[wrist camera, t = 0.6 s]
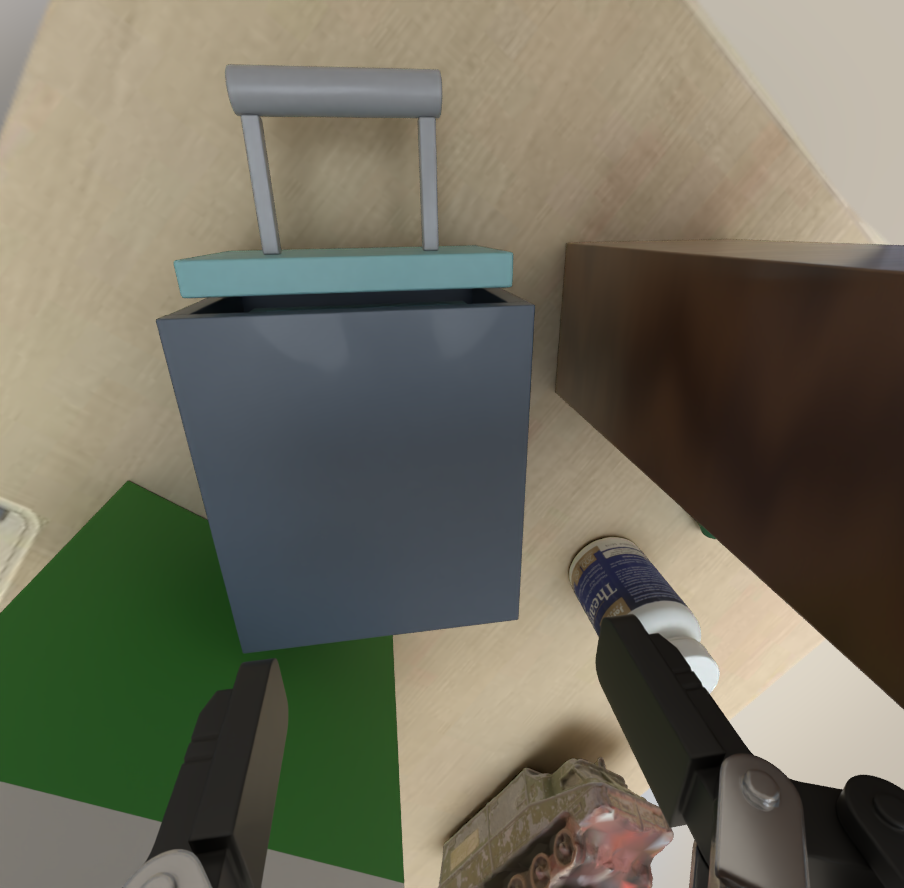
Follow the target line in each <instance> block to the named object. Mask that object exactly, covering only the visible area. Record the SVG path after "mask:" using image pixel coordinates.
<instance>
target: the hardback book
mask: <svg viewBox="0 0 904 888" xmlns="http://www.w3.org/2000/svg"><path fill="white" fill-rule="evenodd" d="M271 658H276V659H277V661H278V664H279V668H280V672H281V676H282V680H283V684H284V688H285V693H286V697H287V701H288V729H287V735H286V741H285V747H284V753H283V759H282V765H281V771H280V777H279V783H278V789H277V795H276V801H275V807H274V813H273V819H272V825H271V831H270V837H269V843H268V849H267V855H266V861H265V867H264V873H263V879H262V885H261V888H404V870H403V849H402V827H401V806H400V784H399V763H398V741H397V720H396V698H395V677H394V655H393V635H390V636H382V637H374V638H365V639H357V640H349V641H341V642H333V643H325V644H317V645H309V646H301V647H293V648H285V649H276V650H268V651H260V652H252V653H243V652H242V648H241V645H240V641H239V637H238V633H237V629H236V625H235V622H234V618H233V614H232V610H231V606H230V603H229V599H228V595H227V591H226V587H225V583H224V580H223V576H222V572H221V568H220V564H219V560H218V557H217V553H216V549H215V545H214V541H213V538H212V534H211V530H210V526H209V522H208V520H206V519H204V518H202V517H200V516H198V515H196V514H194V513H192V512H190V511H188V510H186V509H184V508H182V507H180V506H178V505H176V504H174V503H172V502H170V501H168V500H166V499H164V498H162V497H160V496H158V495H156V494H154V493H152V492H150V491H148V490H146V489H144V488H142V487H140V486H138V485H136V484H134V483H132V482H130V481H127V482H126V483H125V484H124V485H123V486H122V487H121V488H120V489H119V490H118V491H117V492H116V493H115V495H114V496H113V497H112V498H111V499H110V500H109V501H108V502H107V503H106V504H105V505H104V506H103V507H102V508H101V509H100V510H99V511H98V512H97V513H96V514H95V515H94V516H93V517H92V518H91V519H90V520H89V522H88V523H87V524H86V525H85V526H84V527H83V528H82V529H81V530H80V531H79V532H78V533H77V534H76V535H75V536H74V537H73V538H72V539H71V540H70V541H69V542H68V543H67V544H66V545H65V546H64V547H63V549H62V550H61V551H60V552H59V553H58V554H57V555H56V556H55V557H54V558H53V559H52V560H51V561H50V562H49V563H48V564H47V565H46V566H45V567H44V568H43V569H42V570H41V571H40V572H39V573H38V574H37V576H36V577H35V578H34V579H33V580H32V581H31V582H30V583H29V584H28V585H27V586H26V587H25V588H24V589H23V590H22V591H21V592H20V593H19V594H18V595H17V596H16V597H15V598H14V599H13V600H12V601H11V603H10V604H9V605H8V606H7V607H6V608H5V609H4V610H3V611H2V612H1V613H0V888H122V887H123V886H124V884H125V883H126V882H127V881H128V879H129V878H130V877H131V876H132V875H133V874H134V873H135V871H136V870H137V869H139V868H140V867H141V866H142V865H143V864H144V863H145V861H146V860H147V858H148V856H149V854H150V852H151V850H152V848H153V845H154V843H155V840H156V837H157V834H158V832H159V829H160V826H161V823H162V820H163V817H164V814H165V811H166V809H167V806H168V803H169V800H170V797H171V794H172V791H173V788H174V786H175V783H176V780H177V777H178V774H179V771H180V768H181V765H182V764H183V763H184V757H185V754H186V751H187V748H188V745H189V743H191V737H192V734H193V731H194V728H195V725H196V722H197V719H198V717H199V714H200V712H201V711H202V709H203V708H204V707H205V705H206V704H207V703H208V702H209V700H210V699H211V698H212V696H213V695H214V694H215V692H216V691H218V690H225V689H233V686H234V683H235V680H236V676H237V673H238V670H239V667H240V665H241V663H243V662H248V661H256V660H264V659H271Z"/></svg>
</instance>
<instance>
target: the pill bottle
mask: <svg viewBox="0 0 904 888" xmlns="http://www.w3.org/2000/svg"><path fill="white" fill-rule="evenodd" d="M569 580H570V583H571V586H572V588H573V590H574V592H575V594H576V596H577V598H578V600H579V602H580V603H581V605H582V607H583V609H584V611H585V613H586V614H587V616H588V618H589V620H590V622H591V624H592V625H593V628H594V629H595V631H596V633H597V635H598V636H599V634H600V627H601V622H602V619H603V618H604V617H610V616H618V615H626V614H634V615H635V616H636V617H637V618H638V619H639V620H640V622H641V623H642V625H643V626H644V628H645V629H646V631H647V632H648V634H654V633H659V634H660V635H662V636H663V637H664V638H665V639H667V640H668V641H669V642H670V643H672V644H673V645H674V646H675V647H677V648H678V650H679V651H680V653H681V654H682V655H683V657H684V658H685V660H686V661H687V663H688V664H689V665H690V667H691V670H692V671H694V672H695V674H696V675H697V677H698V678H699V680H700V681H701V682H702V686H703V687H705V688H706V690H707V691H708V692H709V694H710V693H711V692H712V691H713V689H714V688H715V686H716V685H717V682H718V680H719V668H718V665H717V664H716V662H715V661H714V659H713V658H712V657H711V655H710V654H709V653H708V651H707V650H706V648H705V647H704V646H703V645H702V644H701V643H700V641H701V629H700V625H699V623H698V621H697V619H696V617H695V616H694V614H693V613H692V611H691V610H690V609H689V608H688V607H687V605H686V604H685V603H684V602H683V600H682V599H681V598H680V597H679V596H678V595H677V593H676V592H675V591H674V590H673V589H672V587H671V586H670V585H669V584H668V582H667V581H666V580H665V579H664V578H663V576H662V575H661V574H660V573H659V572H658V570H657V569H656V568H655V567H654V565H653V564H652V563H651V562H650V561H649V559H648V558H647V557H646V556H645V554H644V553H643V552H642V551H641V550H640V549H639V548H638V547H637V546H636V545H635V544H634V543H633V542H631V541H630V540H627V539H624V538H619V537H608V538H603V539H600V540H596V541H594V542H592V543H590V544H588V545H587V546H586V547H584V548H583V549H582V550H581V551H580V552H579V553H578V555H577V556H576V557H575V558H574V560H573V562H572V564H571V567H570V571H569Z"/></svg>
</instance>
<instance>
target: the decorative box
mask: <svg viewBox="0 0 904 888" xmlns="http://www.w3.org/2000/svg"><path fill="white" fill-rule="evenodd" d="M673 836H674V834H673V831H672V829H671V828H669V826H668V823H667V821H666V819H665V817H664V815H663V813H662V811H661V809H660V807H658V806H656V805H654V804H652V803H649V802H648V801H647V800H646V799H645V798H643V797H640V796H638V795H637V794H635V793H633V792H631V790H629V789H628V787H627V785H626V784H625V781H624V778H623V777H622V776H620V775H618V774H616V773H614V772H611V771H608V770H607V769H606V768H605V764H604V760H603V758H602V757H599V758H598V761H597V762H595V763H594V764H593V763H591V762H588V761H586V760H584V759H578V760H577V759H574V758H573V759H570V760H568V761H567V762H565V763H564V764H563V765H562V766H561V767H560V768H559V769H558V770H557V771H555V772H554V773H553V774H548V773H545V774H542V773H539V772H537V771H534V770H532V769H529V768H524V769H523V771H522V772H520V774H519V775H517V776H516V777H515V779H514V780H512V781H511V782H510V783H509V785H508V786H507V787H505V788H504V789H503V790H502V791H501V792H500V793H499V794H498V795H497V796H496V797H495V798H493V799H492V800H491V801H490V802H488V803H487V804H486V806H485V807H484V808H483V809H482V810H480V812H478V814H476V815H475V816H474V817H473V818H472V819H471V820H469V822H467V824H465V825H464V826H463V827H462V828H461V829H460V830H459V831H458V832H457V833H456V834H454V836H453V837H451V838H450V839H449V840H448V841H446V842H445V843H444V846H443V849H444V850H443V858H442V866H441V874H440V881H439V887H438V888H651V887H652V880H653V877H652V873H651V867H650V864H651V862H652V860H653V858H654V856H655V855H657V854H658V853H659V852H661V851H662V850H663V849H664V848H665V846H667V845H668V844H669V843H670V842H671V841H672V839H673Z"/></svg>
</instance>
